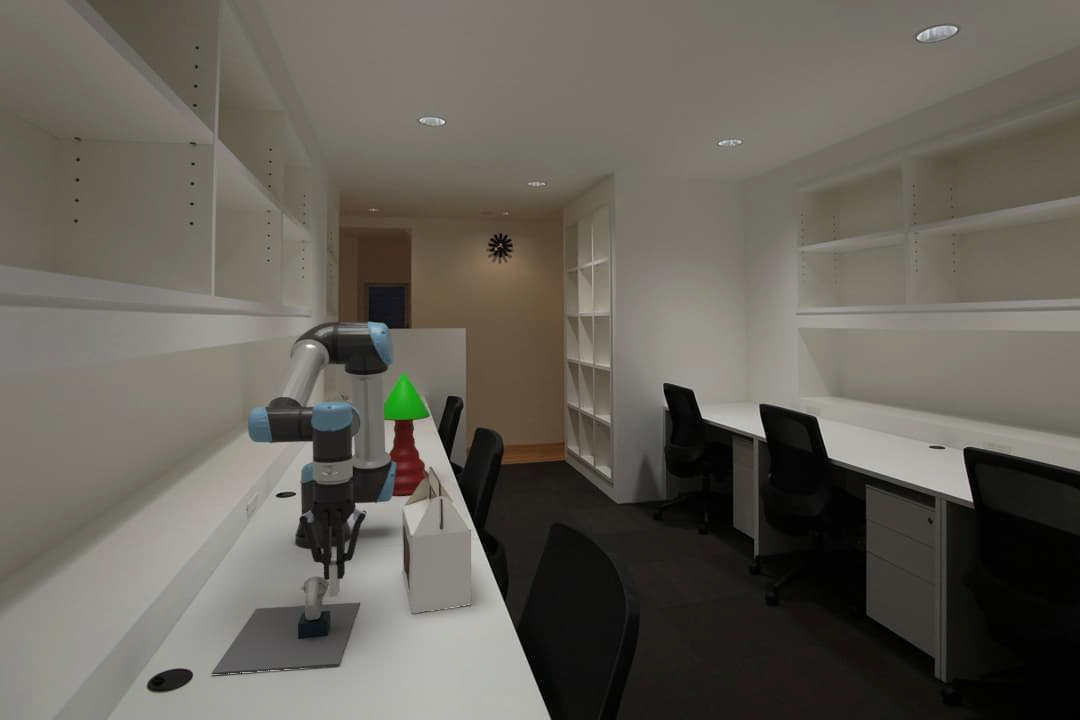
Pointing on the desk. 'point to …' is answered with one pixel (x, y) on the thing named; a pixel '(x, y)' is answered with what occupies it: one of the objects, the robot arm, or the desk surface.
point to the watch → (314, 610)
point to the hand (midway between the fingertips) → (334, 593)
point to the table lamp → (405, 435)
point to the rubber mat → (287, 641)
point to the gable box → (435, 549)
